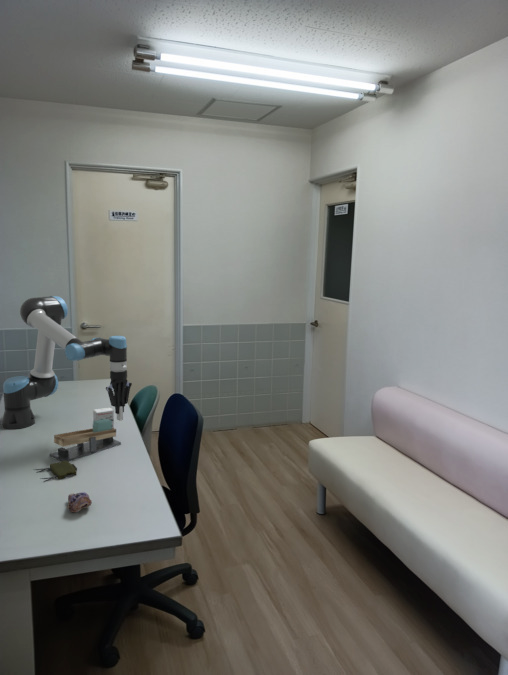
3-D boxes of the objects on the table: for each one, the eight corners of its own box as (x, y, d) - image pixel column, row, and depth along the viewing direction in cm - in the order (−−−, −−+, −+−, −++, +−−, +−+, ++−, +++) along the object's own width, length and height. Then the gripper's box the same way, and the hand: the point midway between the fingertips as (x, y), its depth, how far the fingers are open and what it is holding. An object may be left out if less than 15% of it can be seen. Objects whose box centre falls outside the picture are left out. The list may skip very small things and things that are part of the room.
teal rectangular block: (92, 432, 225) (93, 421, 225) (106, 429, 230) (106, 418, 230) (97, 434, 223) (98, 423, 222) (111, 431, 228) (112, 420, 228)
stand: (49, 456, 214) (49, 440, 213) (106, 438, 236) (106, 423, 234) (63, 463, 207) (63, 447, 206) (120, 444, 229) (120, 429, 227)
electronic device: (81, 469, 197) (40, 479, 188) (81, 475, 197) (41, 486, 188) (69, 457, 208) (31, 466, 199) (69, 463, 208) (31, 472, 199)
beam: (53, 442, 213) (53, 434, 212) (106, 432, 233) (106, 425, 233) (63, 446, 208) (63, 439, 208) (116, 436, 228) (116, 429, 228)
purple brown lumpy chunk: (63, 502, 176) (62, 486, 175) (85, 497, 180) (84, 481, 179) (71, 518, 166) (70, 500, 165) (94, 511, 170) (94, 495, 169)
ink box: (96, 436, 237) (95, 412, 235) (93, 433, 242) (92, 409, 240) (114, 433, 242) (114, 409, 240) (111, 430, 246) (110, 406, 244)
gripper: (111, 374, 222) (112, 425, 226) (135, 369, 232) (136, 418, 236) (101, 371, 227) (102, 421, 231) (125, 366, 237) (126, 414, 241)
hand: (119, 419), depth 233 cm, fingers closed
